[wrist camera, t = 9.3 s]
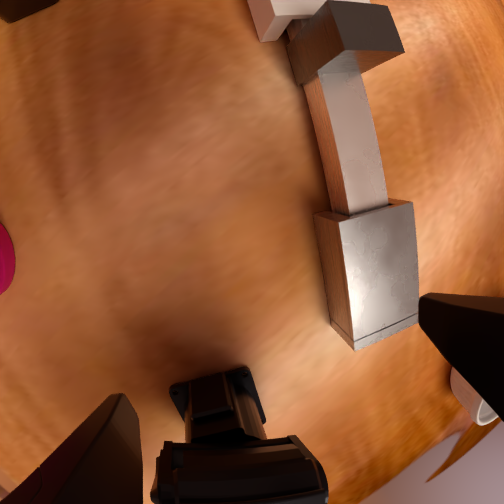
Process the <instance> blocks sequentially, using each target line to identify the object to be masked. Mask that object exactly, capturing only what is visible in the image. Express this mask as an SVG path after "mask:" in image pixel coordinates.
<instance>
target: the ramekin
mask: <svg viewBox="0 0 504 504" xmlns="http://www.w3.org/2000/svg"><path fill="white" fill-rule="evenodd" d="M450 382H451V389H452V392H453V394H454V396H455V397H456V398H457V399H458V401H459V402H460V403H461V404H462V405H463V407H464V408H465V409H466V410H467V411H468V412H469V413H470V416H471V419H472V420H473V421H474V422H476V423H477V424H478V425H485V424H488V423H490V422H492V421H493V420H494V419H496V418H497V417H498V415H497V414H496V413H495V412H494V411H493V410H492V408H491V407H490V406H489V405H488V404H487V403H486V402H485V401H484V400H483V398H482V397H481V396H480V395H479V394H478V393H477V392H476V391H475V390H474V389H473V388H472V386H471V385H470V384H469V383H468V382H467V381H466V380H465V379H464V378H463V377H462V376H461V375H460V374H459V373H458V372H457V370H456V369H455V368H454V367H453V366H452V370H451V375H450Z"/></svg>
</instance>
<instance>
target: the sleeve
mask: <svg viewBox="0 0 504 504" xmlns="http://www.w3.org/2000/svg"><path fill="white" fill-rule="evenodd" d="M388 204H389V206H387V207H383V208H380V209H376V210H372V211H369V212H365V213H361V214H358V215H354V216H350V217H347V216H343V215H340V214H336V213H332V212H329V211H322V212H318V213H315V214H312V215H313V220H314V225H315V230H316V235H317V241H318V246H319V252H320V258H321V263H322V269H323V275H324V281H325V288H326V294H327V300H328V307H329V314H330V317H331V318H330V321H331V327H332V328H333V329H334V330H335V331H336V332H337V333H338V334H339V335H340V336H341V337H342V338H343V339H344V340H345V342H346V343H347V344H348V345H349V346H350V347H351V348H352V349H353V350H354V351H357V350H359V349H362V348H364V347H366V346H369V345H371V344H373V343H376V342H378V341H380V340H382V339H385V338H387V337H389V336H391V335H393V334H395V333H398V332H400V331H402V330H404V329H406V328H408V327H410V326H412V325H414V324H416V323H418V300H419V277H418V255H417V240H416V228H415V218H414V209H413V202H409V201H403V200H397V199H390V198H388Z"/></svg>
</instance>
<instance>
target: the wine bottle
mask: <svg viewBox="0 0 504 504" xmlns="http://www.w3.org/2000/svg"><path fill="white" fill-rule="evenodd" d="M57 1H58V0H0V18H1V19H2V20H4V21H5V22H7V23H9V22H13V21H16V20H18V19H20V18H22V17H24V16H26V15H29V14H31V13H33V12H35V11H38V10H40V9H43V8H45V7H48V6H50V5H52V4H54V3H55V2H57Z"/></svg>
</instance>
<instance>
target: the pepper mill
mask: <svg viewBox="0 0 504 504" xmlns="http://www.w3.org/2000/svg"><path fill="white" fill-rule="evenodd" d="M14 271H15V255H14V250H13V245H12V242H11V240H10V237H9V235H8V233H7V231H6V230H5V228H4V227H3V225H2V224H1V223H0V294H2V293H3V292H4V291H6V290H7V288H8V287H9V286H10V284H11V282H12V279H13V275H14Z"/></svg>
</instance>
